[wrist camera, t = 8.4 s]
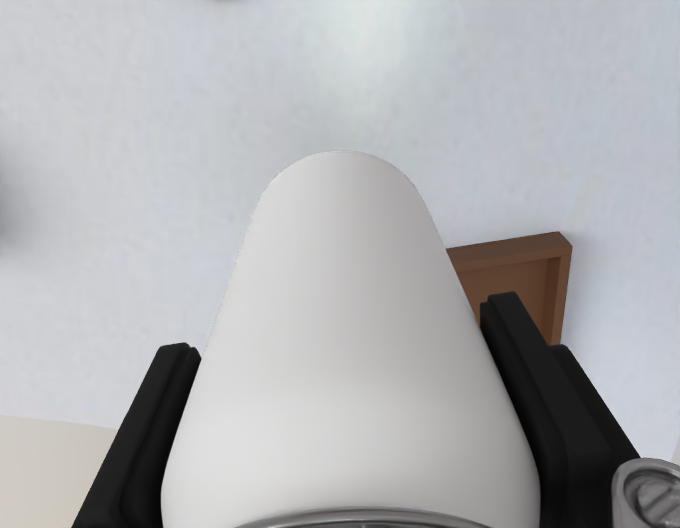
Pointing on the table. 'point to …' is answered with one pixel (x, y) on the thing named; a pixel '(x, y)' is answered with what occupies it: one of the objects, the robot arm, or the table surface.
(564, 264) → the tray
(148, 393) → the robot arm
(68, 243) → the table surface
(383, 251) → the can
